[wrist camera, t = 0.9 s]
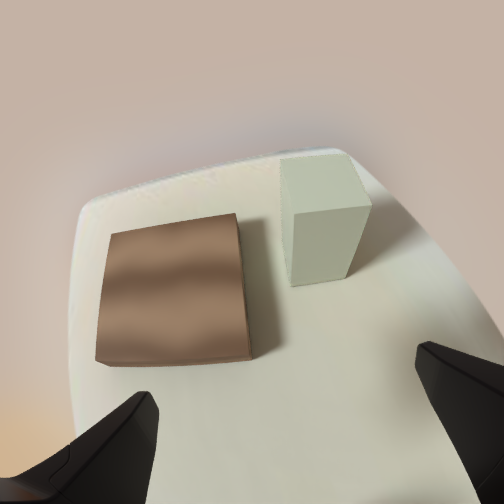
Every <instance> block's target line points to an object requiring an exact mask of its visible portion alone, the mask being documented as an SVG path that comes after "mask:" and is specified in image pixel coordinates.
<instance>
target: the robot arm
mask: <svg viewBox="0 0 504 504" xmlns="http://www.w3.org/2000/svg"><path fill="white" fill-rule="evenodd" d="M415 368H416V371H417V373H418V375H419V378H420V380H421V382H422V384H423V387H424V389H425V391H426V394H427V396H428V398H429V401H430V403H431V405H432V406H433V408H434V410H435V412H436V414H437V415H438V417H439V419H440V421H441V423H442V425H443V426H444V428H445V430H446V432H447V434H448V436H449V438H450V439H451V441H452V443H453V445H454V447H455V449H456V451H457V453H458V455H459V457H460V459H461V461H462V463H463V465H464V467H465V469H466V471H467V473H468V476H469V478H470V480H471V482H472V484H473V486H474V489H475V490H476V494H477V496H478V498H479V500H480V503H481V504H504V366H502V365H499V364H496V363H493V362H490V361H487V360H484V359H481V358H478V357H475V356H472V355H469V354H466V353H463V352H460V351H457V350H454V349H451V348H448V347H445V346H443V345H440V344H437V343H434V342H431V341H426V342H424V343H421V344H419V345H418V347H417V353H416V360H415ZM158 422H159V409H158V406H157V405H156V403H155V401H154V399H153V397H152V395H151V393H150V392H148V391H139V392H137V393H135V394H134V395H133V396H131V397H130V398H129V399H128V400H126V401H125V402H124V403H122V404H121V405H120V406H119V407H117V408H116V409H115V410H113V411H112V412H111V413H110V414H108V415H107V416H106V417H104V418H103V419H102V420H100V421H99V422H98V423H97V424H95V425H94V426H93V427H91V428H90V429H89V430H87V431H86V432H85V433H83V434H82V435H81V436H79V437H78V438H76V439H75V440H74V441H73V442H71V443H70V445H67V446H66V447H64V448H63V449H61V450H60V451H58V452H57V453H56V454H54V455H53V456H51V457H49V458H48V459H46V460H45V461H43V462H41V463H39V464H38V465H36V466H34V467H32V468H30V469H29V470H27V471H25V472H23V473H21V474H20V475H17V476H15V477H10V478H0V504H145V502H146V497H147V491H148V486H149V481H150V476H151V471H152V466H153V461H154V457H155V451H156V443H157V432H158Z"/></svg>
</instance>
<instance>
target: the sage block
mask: <svg viewBox="0 0 504 504" xmlns="http://www.w3.org/2000/svg"><path fill="white" fill-rule="evenodd" d="M280 180H281V224H282V244H283V249H284V254H285V260H286V265H287V270H288V276H289V281H290V287H294V286H300V285H307V284H313V283H320V282H326V281H332V280H338V279H345V277H346V274H347V272H348V269H349V267H350V264H351V262H352V259H353V257H354V254H355V252H356V249H357V247H358V244H359V241H360V239H361V236H362V233H363V230H364V228H365V225H366V222H367V219H368V216H369V214H370V211H371V208H372V203H371V201H370V199H369V196H368V194H367V192H366V190H365V188H364V186H363V184H362V182H361V179H360V177H359V175H358V173H357V171H356V169H355V167H354V165H353V163H352V162H351V160H350V158H349V156H348V154H335V155H322V156H310V157H299V158H289V159H280Z"/></svg>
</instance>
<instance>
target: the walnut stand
mask: <svg viewBox="0 0 504 504" xmlns="http://www.w3.org/2000/svg"><path fill="white" fill-rule="evenodd" d="M249 360H252V354H251V345H250V335H249V326H248V316H247V306H246V297H245V287H244V277H243V267H242V257H241V246H240V236H239V227H238V223H237V218H236V214H235V213H232V214H225V215H219V216H212V217H206V218H199V219H193V220H187V221H181V222H175V223H169V224H163V225H157V226H152V227H146V228H141V229H135V230H130V231H124V232H119V233H114V234H111V239H110V244H109V249H108V254H107V260H106V266H105V272H104V278H103V285H102V292H101V300H100V308H99V317H98V328H97V340H96V356H95V361H97V362H100V363H102V364H105V365H108V366H110V367H163V366H188V365H204V364H217V363H229V362H239V361H249Z"/></svg>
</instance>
